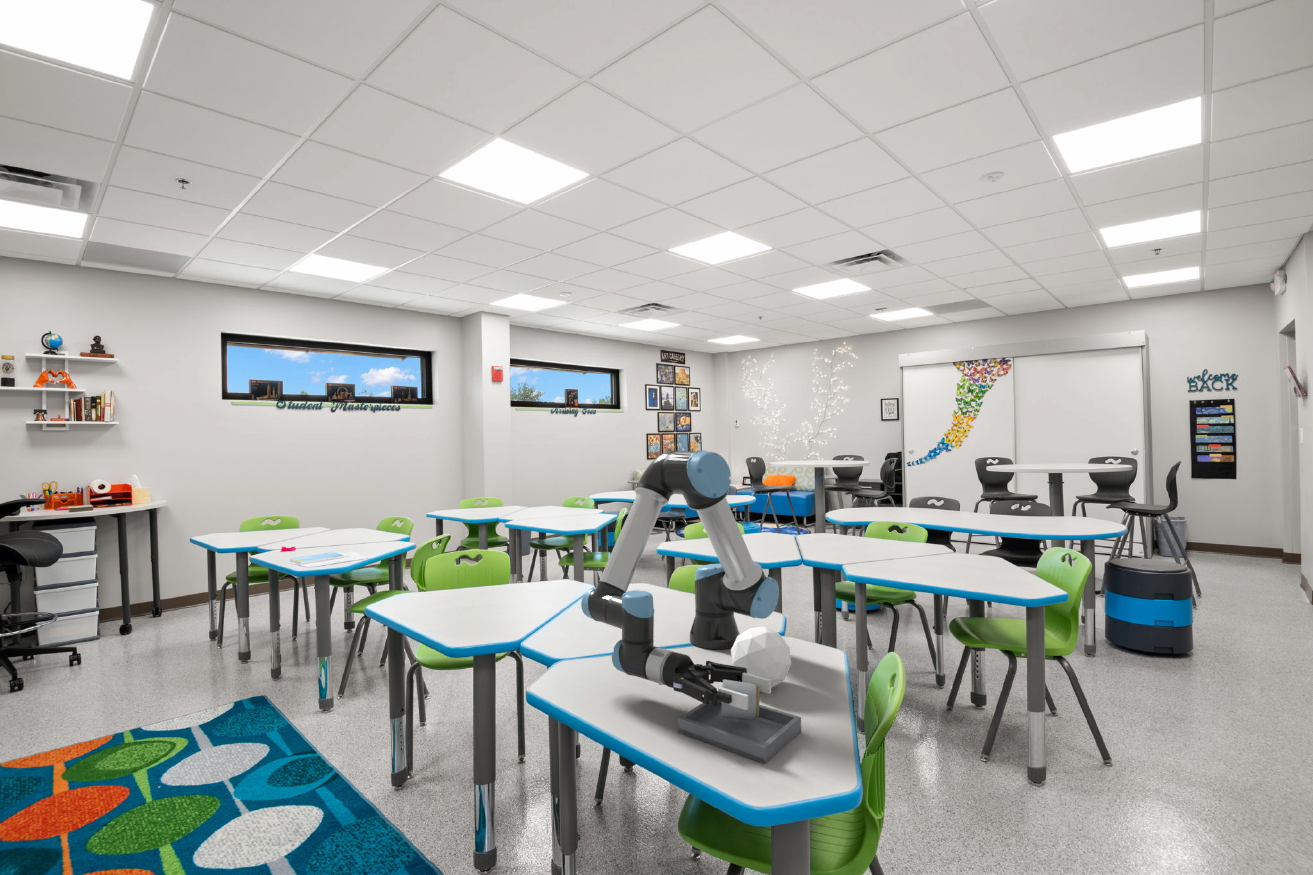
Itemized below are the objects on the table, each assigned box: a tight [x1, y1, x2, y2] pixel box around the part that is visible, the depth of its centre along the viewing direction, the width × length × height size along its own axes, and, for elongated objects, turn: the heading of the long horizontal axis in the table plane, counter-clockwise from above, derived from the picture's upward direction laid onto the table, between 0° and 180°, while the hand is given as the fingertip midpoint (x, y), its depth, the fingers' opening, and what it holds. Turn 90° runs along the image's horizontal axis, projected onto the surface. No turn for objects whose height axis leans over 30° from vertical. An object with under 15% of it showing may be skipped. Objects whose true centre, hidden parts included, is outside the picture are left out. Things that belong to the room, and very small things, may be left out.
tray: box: [677, 701, 802, 765], centre depth 125 cm, size 16×20×3 cm
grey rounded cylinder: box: [721, 680, 760, 719], centre depth 127 cm, size 10×8×7 cm
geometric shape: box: [730, 626, 792, 689], centre depth 149 cm, size 14×15×15 cm
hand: (759, 694), depth 123 cm, fingers closed on grey rounded cylinder, 9 cm apart
